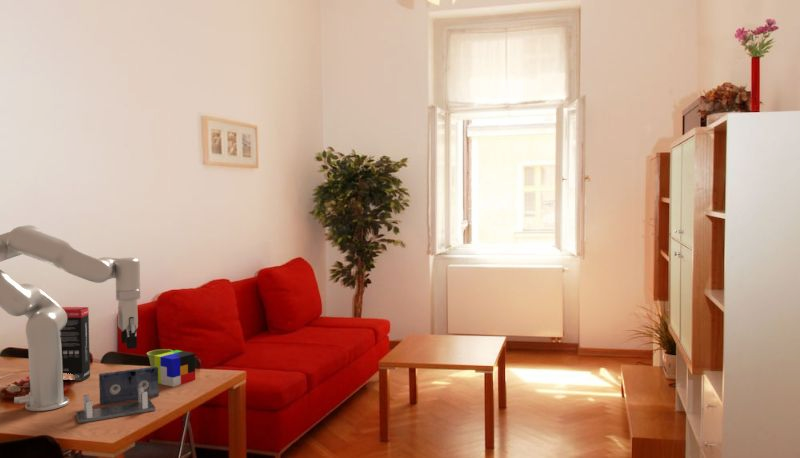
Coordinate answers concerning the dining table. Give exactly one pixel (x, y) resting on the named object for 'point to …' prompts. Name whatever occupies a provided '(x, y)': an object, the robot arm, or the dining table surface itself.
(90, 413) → the rack
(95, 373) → the dining table surface
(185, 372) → the puzzle toy
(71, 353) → the graphics card box
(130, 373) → the vhs cassette tape
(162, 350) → the plant pot
